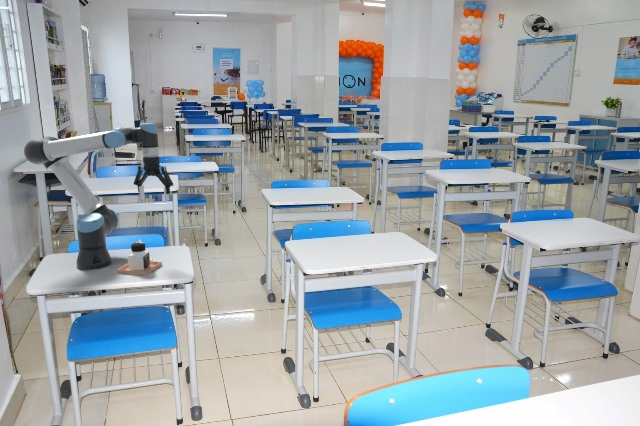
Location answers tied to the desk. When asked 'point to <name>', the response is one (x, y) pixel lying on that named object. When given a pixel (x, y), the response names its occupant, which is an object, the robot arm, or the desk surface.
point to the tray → (151, 268)
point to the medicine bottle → (139, 257)
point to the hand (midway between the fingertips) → (154, 200)
